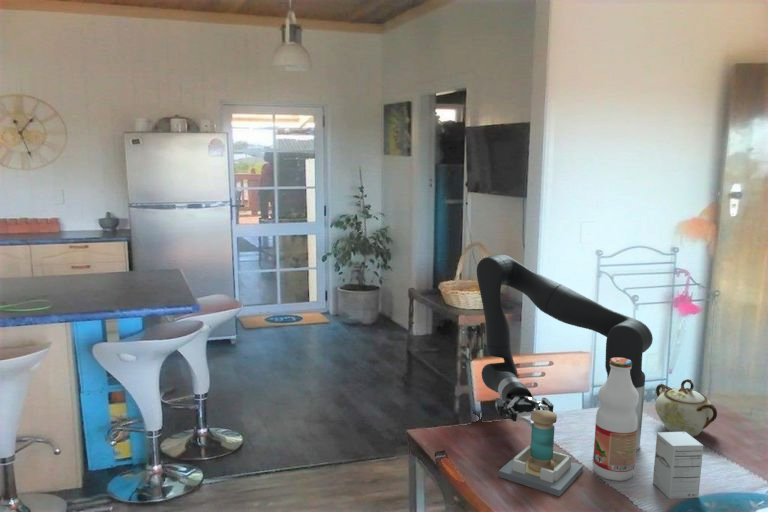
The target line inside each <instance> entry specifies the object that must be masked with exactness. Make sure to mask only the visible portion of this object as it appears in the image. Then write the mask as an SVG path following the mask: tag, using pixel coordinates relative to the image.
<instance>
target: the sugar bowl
mask: <svg viewBox="0 0 768 512" xmlns="http://www.w3.org/2000/svg"><path fill="white" fill-rule="evenodd" d="M680 383H681V384H680V387H676V388H671V387H669V386H667V385H666V384H663V383H659V384H657V386H656V387H655V388H656V389H655V393H656V396H657V398H656V400H655V403H654V404H655V405H654V406H655V408H654V409H655V411H656V414H657V416H658V418H659V420H660V421H661V422H662V424H663V425H664V426H665V429H666V430H667V432H686V433H688V434H689V435H690V436H692V437H696V436H699V434H700V433H702V431H704V430H705V429H706V428H707V427H709V425H710V424H711V423H713V422H715V420H716V419H717V418H718V417H717V416H718V411H717V409H716V407H715V405H713V404H712V402H711V401H710V400H709V399H708V398H707V397H706V396H705V395H704V394H703V393H700V392H698V391H696V390H694V382H693V381H692V379H688V378H687V379H684V380H683V381H681V382H680ZM686 383H689V385H690V388H688V387H685V384H686ZM660 389H661V391H660Z"/></svg>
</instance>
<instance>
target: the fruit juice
mask: <svg viewBox="0 0 768 512" xmlns="http://www.w3.org/2000/svg"><path fill="white" fill-rule="evenodd" d="M610 367H611V370H610V374H609V377H608V379H607V378H606V381H605V382H603V384H601V386H600V387H599V389H598V394H597V398H598V402H599V407H598V409H597V411H596V415H595V430H594V443H593V457H592V458H593V459H592V468H593V472H595V474H596V475H598V476H599V477H602V478H603V479H607V480H610V481H617V482H621V481H628V480H630V479H632V478H633V476H634V473H635V466H636V464H635V463H636V451H637V450H636V441H637V429H638V417H637V413H636V408H637V406H638V403H639V394H638V392H637V390H636V388H635V387H634V385H633V383H632V380H631V376H630V369H631V368H632V361H631V360H629V359H626V358H619V357H615V358H611V359H610Z"/></svg>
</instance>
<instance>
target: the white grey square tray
mask: <svg viewBox="0 0 768 512" xmlns="http://www.w3.org/2000/svg"><path fill="white" fill-rule="evenodd" d="M530 453H531V444H529V445H528V446H526V447H525V448H524V449H523V450H521V451H520V452H519V453H518V454H517V455H515V456H514V457H513V458H512V459H511V460H509V461H508V462H507V463H506V464H505V465H503V466H502V467H501V468H500V469H499V470H498V472H497V473H498V475H497V477H498V478H501V479H504V480H507V481H511V482H514V483H517V484H521V485H523V486H526V487H529V488H531V489H535V490H538V491H542V492H545V493H547V494H550V495H553V496H556V497H561V496H562V495H563V494H564V493H565V491H567V489H568V488H569V487H570V486H571V485H572V484H573V482H574V481H575V480H576V479H577V478H578V477H580V475H581V474H582V473H583V471H584V468H583V467H584V465H583V464H580V463H577V462H573V461H572V456H571V455H568V454H565V453H560V452H559V451H558V452H557V451H554V450H553V458H552V459H551V460H552V461H553V462H554V470H553V471H552V470H549V469H545V468H541V470H540V472H536V471H534V470H532V469H530V468H529V467H528V460H529V459H530V458H532V456H531V455H530Z"/></svg>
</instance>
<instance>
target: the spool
mask: <svg viewBox="0 0 768 512" xmlns="http://www.w3.org/2000/svg"><path fill="white" fill-rule="evenodd" d="M530 420H531V421H532V422H533V423H531V432H530V433H531V435H530V436H531V437H530V445H531V453H530V455H531V456H532V458H530V459H529V460H528V467H529V468H530V469H532V470H534V471H536V472H540V470H541V468H545V469H549V470H552V471H553V470H554V462H553V461H552V460H551V459H552V458H553V451H554V447H555V446H554V443H555V426H554V424H556V423H557V420H558V416H557V414H556V413H555V412H554V411H553V412H551V411H547V410H542V409H540V410H535V409H534V411H532V412H531V413H530Z"/></svg>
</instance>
